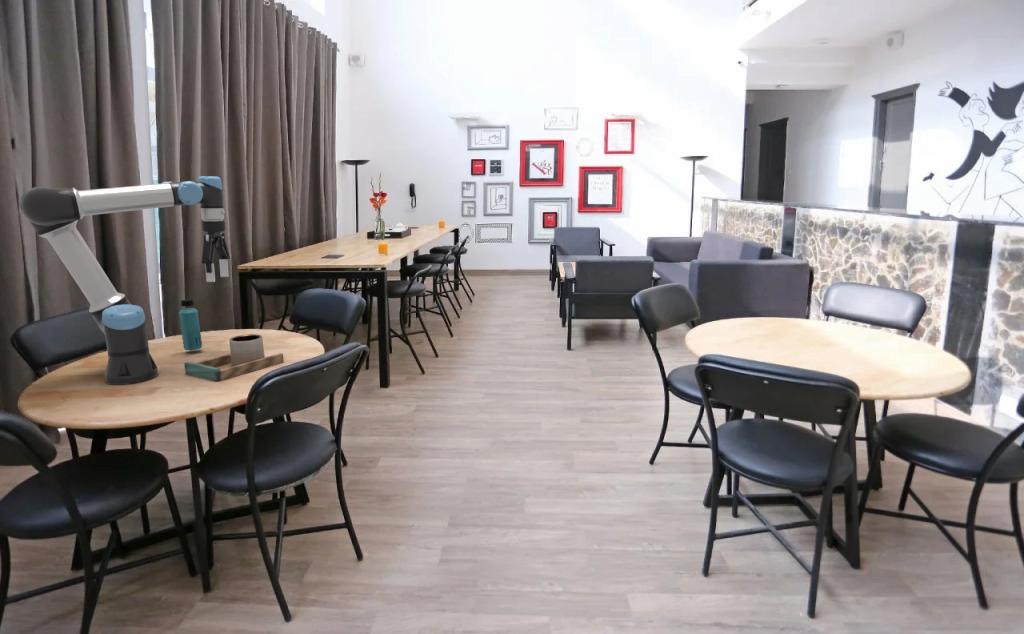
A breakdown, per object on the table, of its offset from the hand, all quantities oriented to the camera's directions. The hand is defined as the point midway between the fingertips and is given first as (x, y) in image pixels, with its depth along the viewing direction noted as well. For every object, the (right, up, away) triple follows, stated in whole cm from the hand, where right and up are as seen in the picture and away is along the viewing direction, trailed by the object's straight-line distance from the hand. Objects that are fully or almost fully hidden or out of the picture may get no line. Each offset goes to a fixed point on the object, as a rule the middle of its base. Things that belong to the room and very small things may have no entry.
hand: (217, 279), depth 239 cm
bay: (+13, -31, -14) cm, 37 cm away
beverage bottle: (-13, -27, +8) cm, 31 cm away
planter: (+15, -30, -10) cm, 36 cm away
